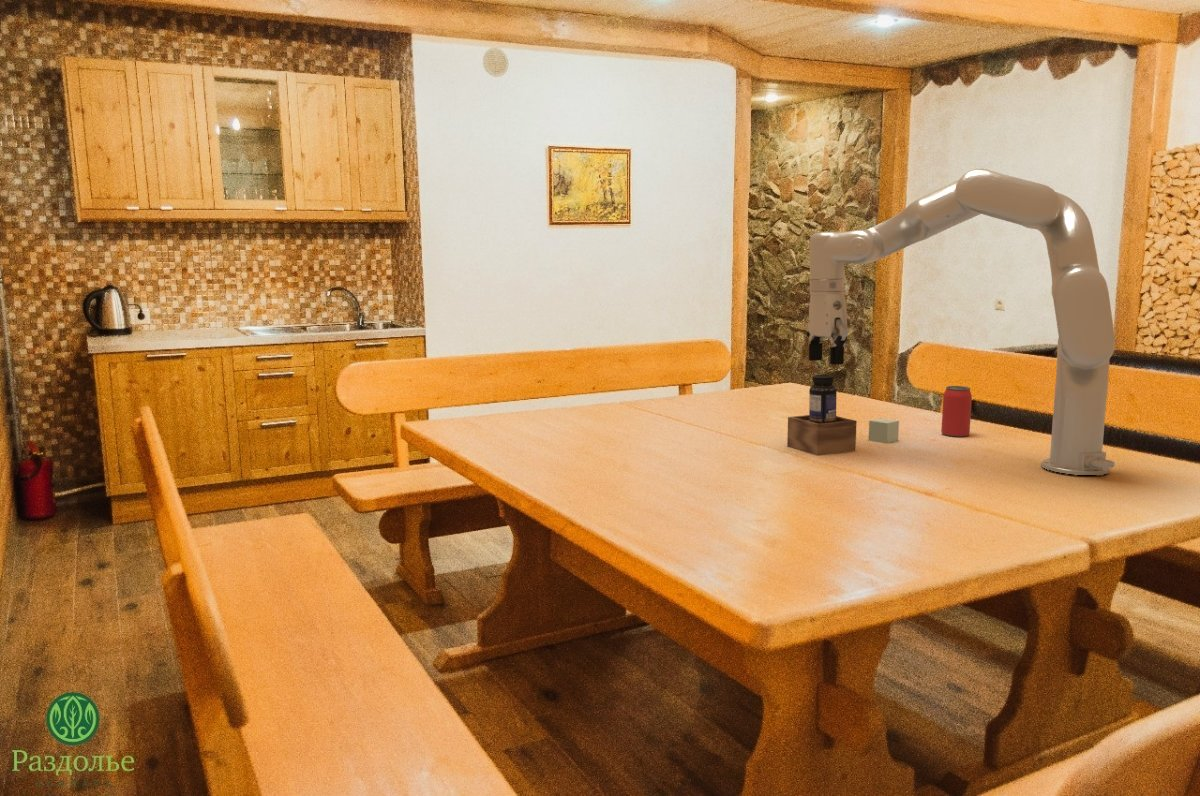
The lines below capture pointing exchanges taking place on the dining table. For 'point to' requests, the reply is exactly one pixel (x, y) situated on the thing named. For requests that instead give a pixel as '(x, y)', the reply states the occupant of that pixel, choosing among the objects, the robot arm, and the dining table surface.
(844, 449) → the walnut open box
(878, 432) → the sage cube
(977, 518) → the dining table surface
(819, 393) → the pill bottle
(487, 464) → the dining table surface
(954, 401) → the beer can
